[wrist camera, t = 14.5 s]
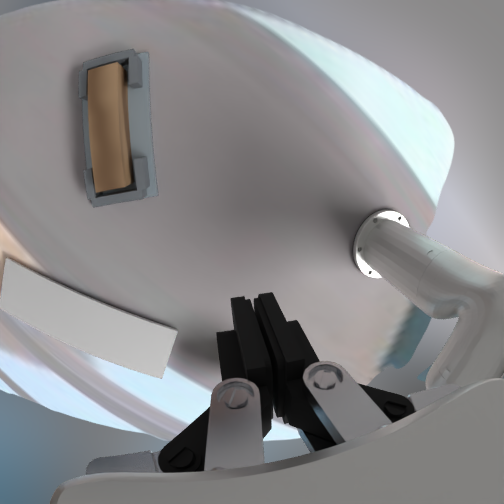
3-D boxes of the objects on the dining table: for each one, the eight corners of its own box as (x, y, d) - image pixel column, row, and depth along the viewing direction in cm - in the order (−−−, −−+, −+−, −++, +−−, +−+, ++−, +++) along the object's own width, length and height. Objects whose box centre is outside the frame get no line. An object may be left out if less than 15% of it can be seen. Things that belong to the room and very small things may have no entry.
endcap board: (148, 53, 28) (143, 44, 25) (158, 194, 36) (153, 199, 32) (84, 69, 27) (74, 63, 23) (94, 205, 35) (84, 211, 31)
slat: (127, 72, 28) (117, 62, 23) (134, 182, 34) (124, 187, 29) (101, 78, 27) (88, 70, 23) (108, 186, 33) (95, 192, 29)
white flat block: (18, 254, 37) (11, 301, 37) (5, 257, 32) (-1, 308, 32) (177, 321, 47) (162, 365, 47) (177, 331, 43) (161, 378, 43)
